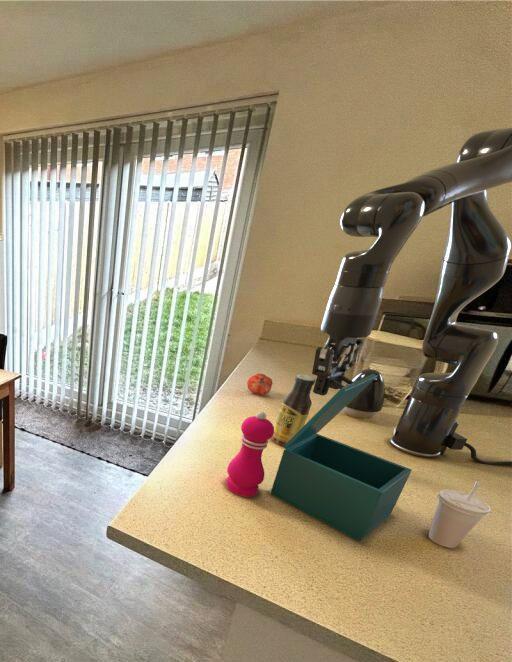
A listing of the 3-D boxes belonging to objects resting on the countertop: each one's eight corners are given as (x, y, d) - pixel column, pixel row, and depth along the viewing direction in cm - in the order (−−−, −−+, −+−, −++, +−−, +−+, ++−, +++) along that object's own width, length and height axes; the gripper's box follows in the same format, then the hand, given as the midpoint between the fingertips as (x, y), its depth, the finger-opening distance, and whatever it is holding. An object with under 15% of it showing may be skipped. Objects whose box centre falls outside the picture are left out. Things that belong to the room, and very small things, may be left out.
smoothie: (477, 555, 72) (515, 494, 66) (435, 550, 73) (469, 490, 68) (448, 530, 78) (480, 472, 72) (410, 526, 79) (439, 468, 73)
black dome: (341, 419, 119) (358, 373, 113) (329, 405, 128) (344, 362, 122) (383, 425, 115) (403, 378, 109) (368, 410, 124) (386, 365, 118)
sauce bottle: (264, 437, 111) (283, 372, 103) (285, 435, 111) (305, 371, 104) (281, 449, 105) (303, 381, 97) (303, 448, 105) (326, 380, 98)
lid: (377, 375, 78) (349, 359, 82) (345, 390, 72) (316, 372, 76) (318, 432, 90) (295, 415, 93) (286, 449, 84) (263, 430, 87)
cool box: (389, 516, 81) (412, 469, 77) (360, 542, 75) (382, 492, 71) (301, 475, 95) (315, 433, 90) (270, 494, 89) (283, 449, 84)
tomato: (242, 393, 143) (243, 385, 135) (251, 375, 143) (252, 366, 135) (265, 401, 139) (268, 393, 130) (274, 382, 139) (277, 373, 131)
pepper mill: (255, 481, 93) (276, 406, 85) (262, 501, 87) (287, 422, 79) (221, 476, 95) (239, 402, 87) (226, 494, 89) (246, 417, 81)
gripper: (358, 318, 68) (330, 405, 75) (392, 307, 75) (364, 389, 81) (309, 311, 74) (287, 392, 81) (345, 301, 81) (322, 378, 87)
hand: (326, 390), depth 81 cm, fingers closed on lid, 5 cm apart
